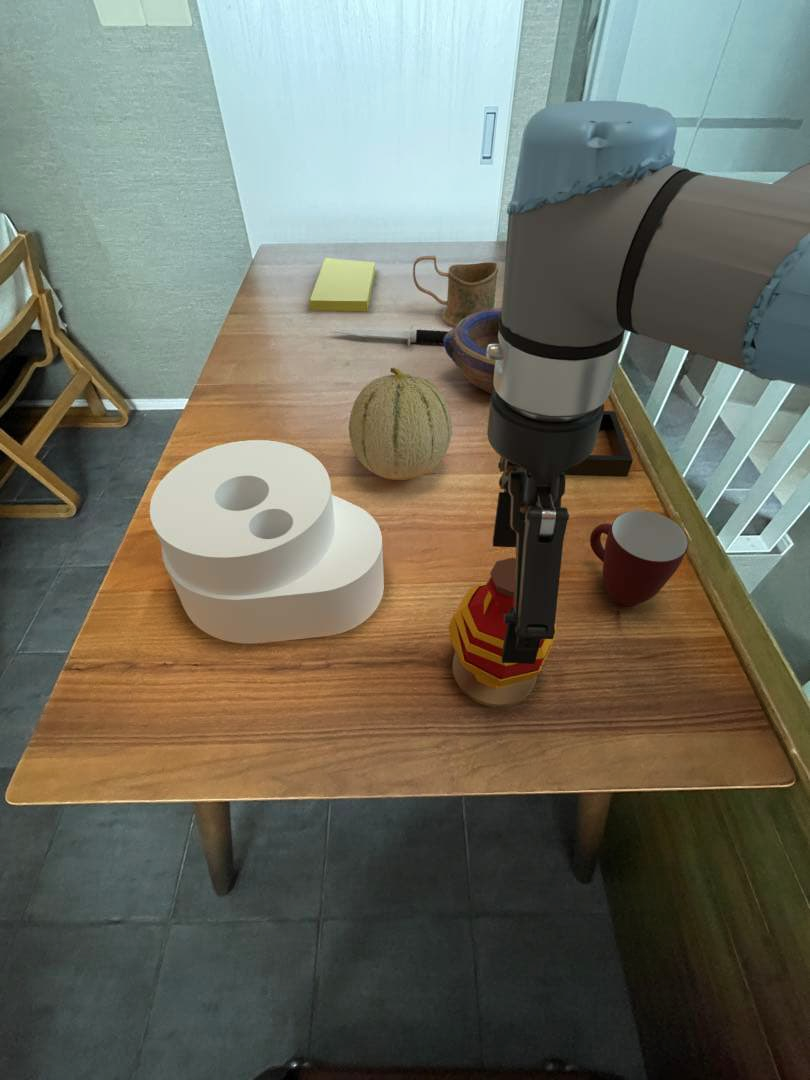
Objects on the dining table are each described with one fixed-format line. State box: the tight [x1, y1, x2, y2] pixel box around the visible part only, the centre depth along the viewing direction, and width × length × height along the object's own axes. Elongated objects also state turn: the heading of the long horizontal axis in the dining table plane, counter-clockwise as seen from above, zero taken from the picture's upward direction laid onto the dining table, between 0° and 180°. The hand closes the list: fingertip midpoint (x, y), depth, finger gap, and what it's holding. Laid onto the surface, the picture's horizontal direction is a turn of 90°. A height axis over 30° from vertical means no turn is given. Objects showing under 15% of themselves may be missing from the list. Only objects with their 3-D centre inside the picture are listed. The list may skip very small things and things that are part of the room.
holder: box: [562, 410, 633, 477], centre depth 89 cm, size 13×13×3 cm
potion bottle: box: [447, 557, 558, 689], centre depth 57 cm, size 10×10×15 cm
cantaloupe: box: [348, 367, 453, 481], centre depth 82 cm, size 15×15×15 cm
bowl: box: [443, 307, 502, 394], centre depth 101 cm, size 18×18×10 cm
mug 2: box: [589, 509, 689, 607], centre depth 67 cm, size 11×8×10 cm
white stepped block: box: [149, 439, 385, 645], centre depth 67 cm, size 20×25×14 cm
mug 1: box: [412, 255, 499, 328], centre depth 118 cm, size 12×18×12 cm, turn 88°
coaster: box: [452, 651, 538, 708], centre depth 63 cm, size 9×9×1 cm
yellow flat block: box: [309, 257, 376, 312], centre depth 132 cm, size 12×2×24 cm
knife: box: [329, 325, 450, 347], centre depth 114 cm, size 26×2×5 cm
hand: (511, 597), depth 54 cm, fingers open, 13 cm apart
